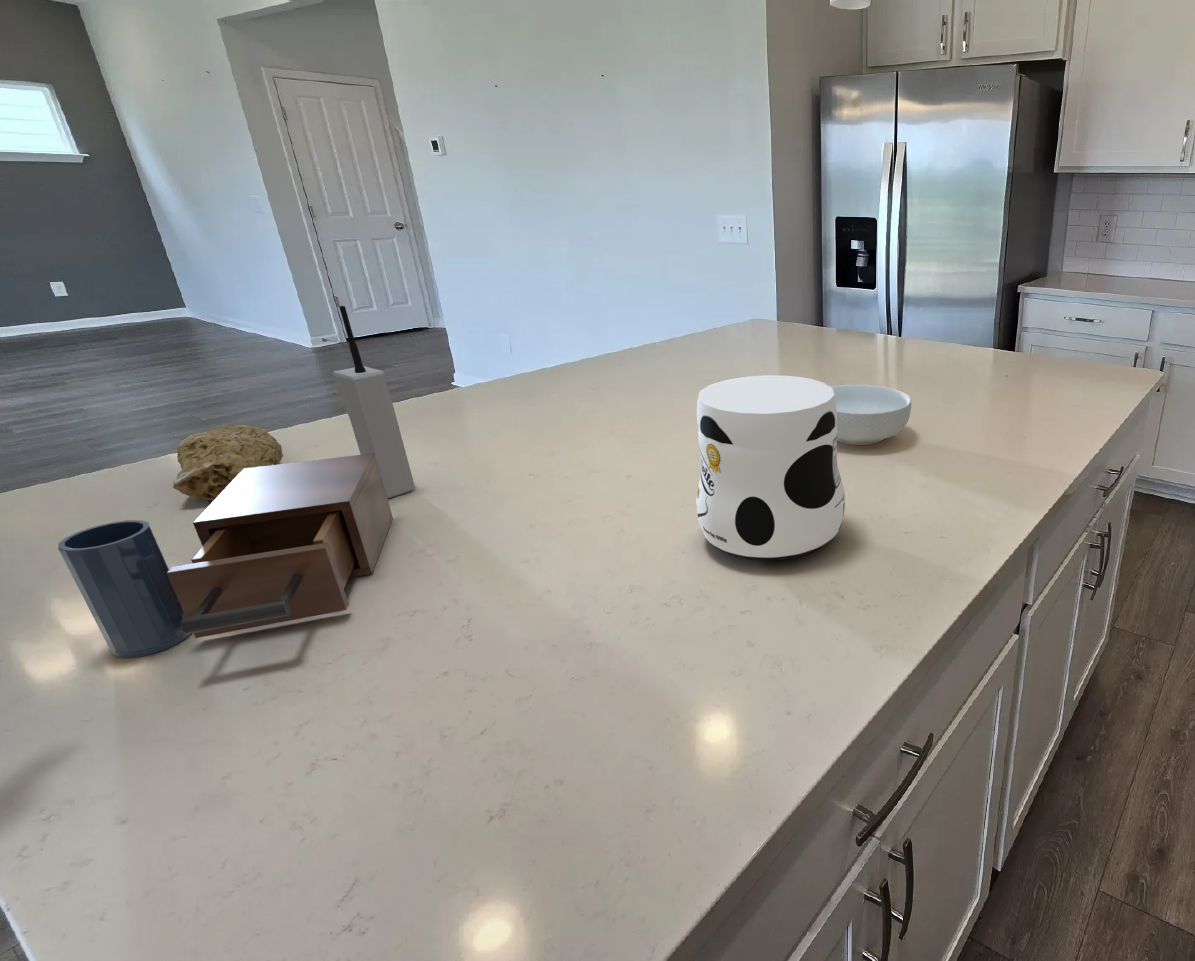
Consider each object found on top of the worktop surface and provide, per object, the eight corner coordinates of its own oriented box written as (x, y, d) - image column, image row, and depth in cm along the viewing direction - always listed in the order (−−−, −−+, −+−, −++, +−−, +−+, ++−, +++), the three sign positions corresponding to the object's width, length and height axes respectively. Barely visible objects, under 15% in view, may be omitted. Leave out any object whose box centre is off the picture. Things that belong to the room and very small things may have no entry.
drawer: (332, 646, 63) (308, 580, 60) (166, 679, 58) (132, 610, 55) (371, 547, 79) (354, 491, 76) (244, 567, 75) (222, 509, 72)
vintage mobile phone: (396, 482, 98) (345, 301, 88) (416, 489, 96) (366, 304, 86) (367, 491, 95) (312, 305, 85) (387, 499, 93) (332, 309, 83)
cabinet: (372, 574, 76) (349, 501, 72) (224, 600, 71) (192, 522, 67) (393, 517, 88) (374, 452, 84) (268, 536, 83) (243, 468, 80)
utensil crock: (99, 664, 61) (42, 555, 57) (129, 629, 66) (78, 526, 62) (180, 649, 64) (131, 542, 59) (204, 616, 68) (160, 515, 64)
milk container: (674, 532, 85) (658, 389, 78) (790, 494, 95) (786, 365, 88) (750, 591, 73) (740, 429, 66) (874, 542, 83) (877, 396, 76)
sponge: (282, 503, 94) (305, 430, 109) (247, 457, 89) (275, 387, 104) (167, 536, 91) (206, 456, 105) (123, 489, 86) (170, 412, 100)
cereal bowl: (904, 459, 108) (906, 415, 105) (799, 452, 110) (798, 409, 107) (913, 424, 123) (915, 385, 120) (821, 418, 125) (821, 380, 123)
